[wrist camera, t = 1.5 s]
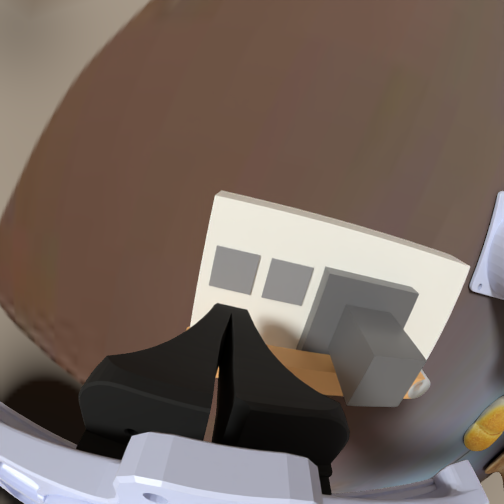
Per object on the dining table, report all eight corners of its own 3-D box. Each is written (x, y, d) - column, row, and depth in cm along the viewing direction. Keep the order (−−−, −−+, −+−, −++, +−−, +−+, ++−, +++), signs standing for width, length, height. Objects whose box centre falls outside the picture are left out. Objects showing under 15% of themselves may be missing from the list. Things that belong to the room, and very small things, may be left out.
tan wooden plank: (418, 355, 16) (434, 379, 14) (407, 374, 17) (421, 398, 14) (191, 317, 16) (180, 343, 13) (187, 340, 16) (177, 368, 14)
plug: (395, 272, 17) (462, 335, 10) (365, 344, 19) (404, 424, 11) (317, 253, 17) (357, 319, 10) (290, 332, 19) (305, 423, 11)
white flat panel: (450, 254, 17) (471, 267, 15) (396, 370, 20) (408, 391, 17) (221, 190, 16) (214, 195, 14) (192, 338, 19) (184, 361, 17)
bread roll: (451, 443, 25) (462, 463, 21) (493, 393, 22) (509, 413, 18) (482, 438, 25) (492, 455, 21) (519, 392, 23) (532, 408, 19)
